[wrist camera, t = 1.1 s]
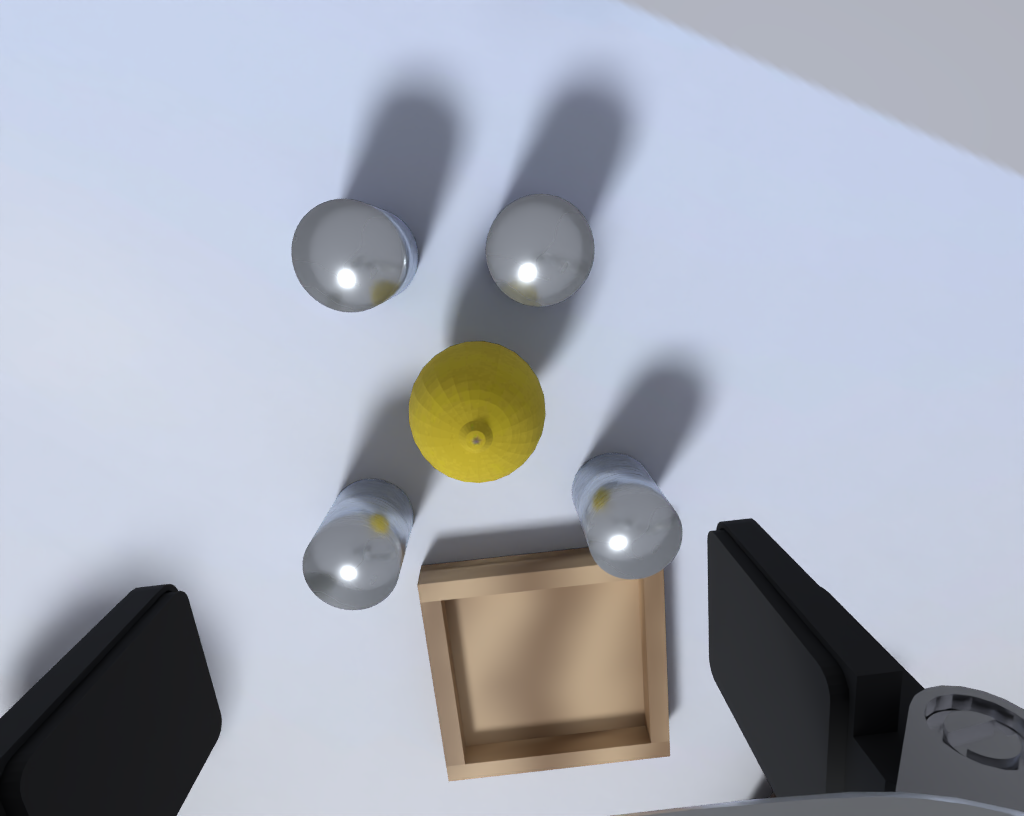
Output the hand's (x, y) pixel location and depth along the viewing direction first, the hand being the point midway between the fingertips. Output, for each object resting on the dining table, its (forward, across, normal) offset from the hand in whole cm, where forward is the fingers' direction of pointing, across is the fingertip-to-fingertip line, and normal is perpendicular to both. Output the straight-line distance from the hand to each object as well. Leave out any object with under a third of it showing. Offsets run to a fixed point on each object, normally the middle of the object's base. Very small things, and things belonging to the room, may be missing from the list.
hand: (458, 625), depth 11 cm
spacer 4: (+18, -6, +6) cm, 20 cm away
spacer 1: (+18, +4, -6) cm, 20 cm away
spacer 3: (+18, -3, -6) cm, 19 cm away
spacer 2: (+18, +6, +6) cm, 20 cm away
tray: (+18, -2, +15) cm, 24 cm away
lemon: (+18, 0, 0) cm, 18 cm away
